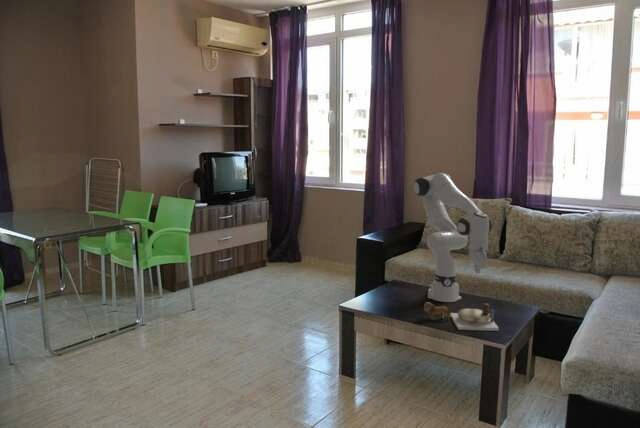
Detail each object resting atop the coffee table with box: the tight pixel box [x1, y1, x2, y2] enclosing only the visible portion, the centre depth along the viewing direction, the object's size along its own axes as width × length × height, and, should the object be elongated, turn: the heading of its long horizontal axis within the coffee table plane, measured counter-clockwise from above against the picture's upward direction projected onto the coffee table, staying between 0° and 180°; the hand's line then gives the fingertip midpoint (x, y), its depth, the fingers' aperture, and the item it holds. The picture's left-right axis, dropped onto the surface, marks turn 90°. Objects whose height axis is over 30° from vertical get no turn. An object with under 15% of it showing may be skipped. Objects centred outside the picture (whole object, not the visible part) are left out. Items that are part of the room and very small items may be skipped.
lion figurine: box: [423, 301, 452, 321], centre depth 259 cm, size 15×5×9 cm, turn 95°
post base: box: [450, 309, 500, 332], centre depth 254 cm, size 19×19×8 cm
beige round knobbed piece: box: [457, 303, 495, 322], centre depth 253 cm, size 17×15×6 cm
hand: (477, 272), depth 257 cm, fingers closed
